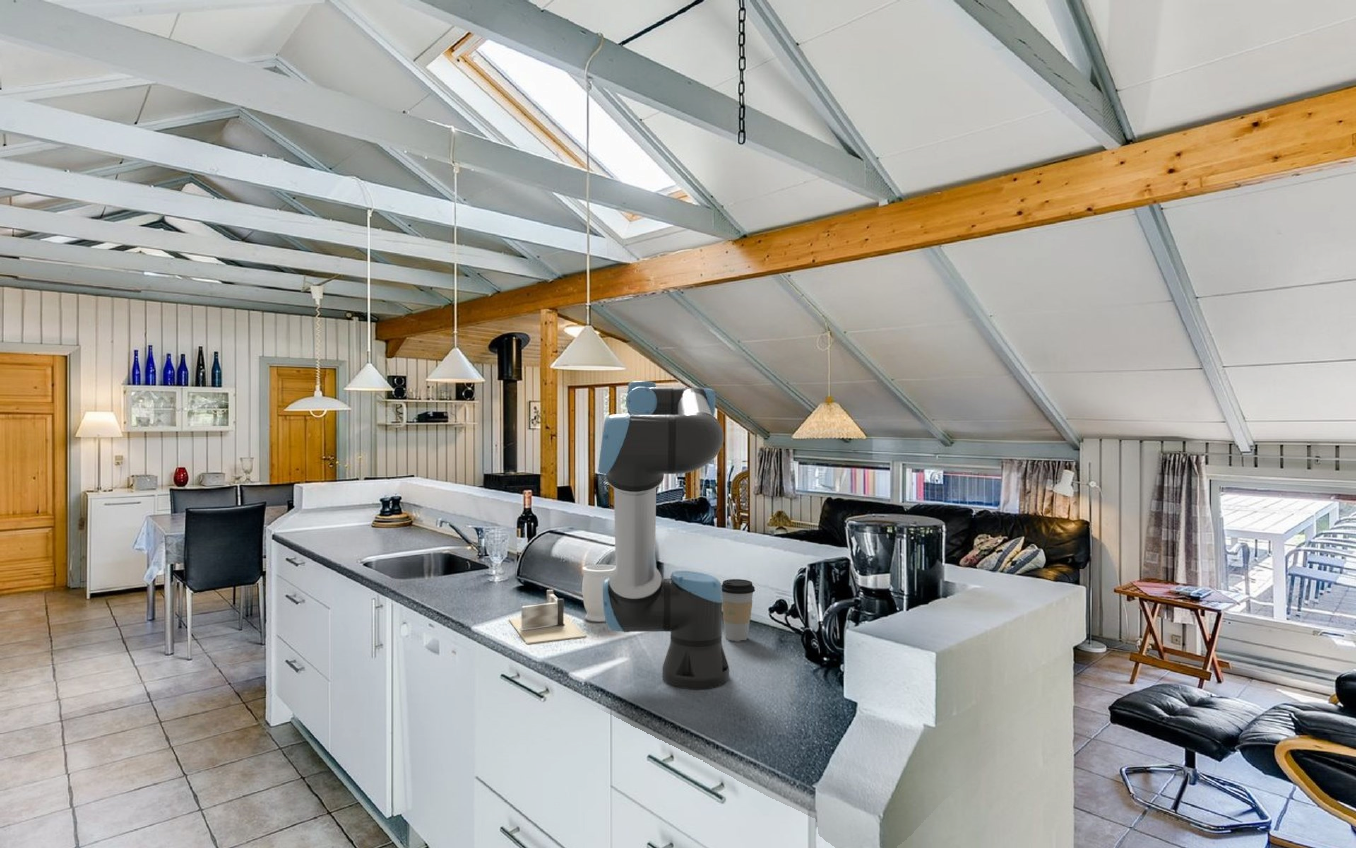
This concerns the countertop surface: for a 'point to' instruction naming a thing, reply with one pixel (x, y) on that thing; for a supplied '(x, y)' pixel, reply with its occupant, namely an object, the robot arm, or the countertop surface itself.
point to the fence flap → (542, 615)
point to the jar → (595, 590)
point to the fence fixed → (552, 600)
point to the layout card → (548, 632)
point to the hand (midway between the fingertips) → (640, 529)
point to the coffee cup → (737, 608)
